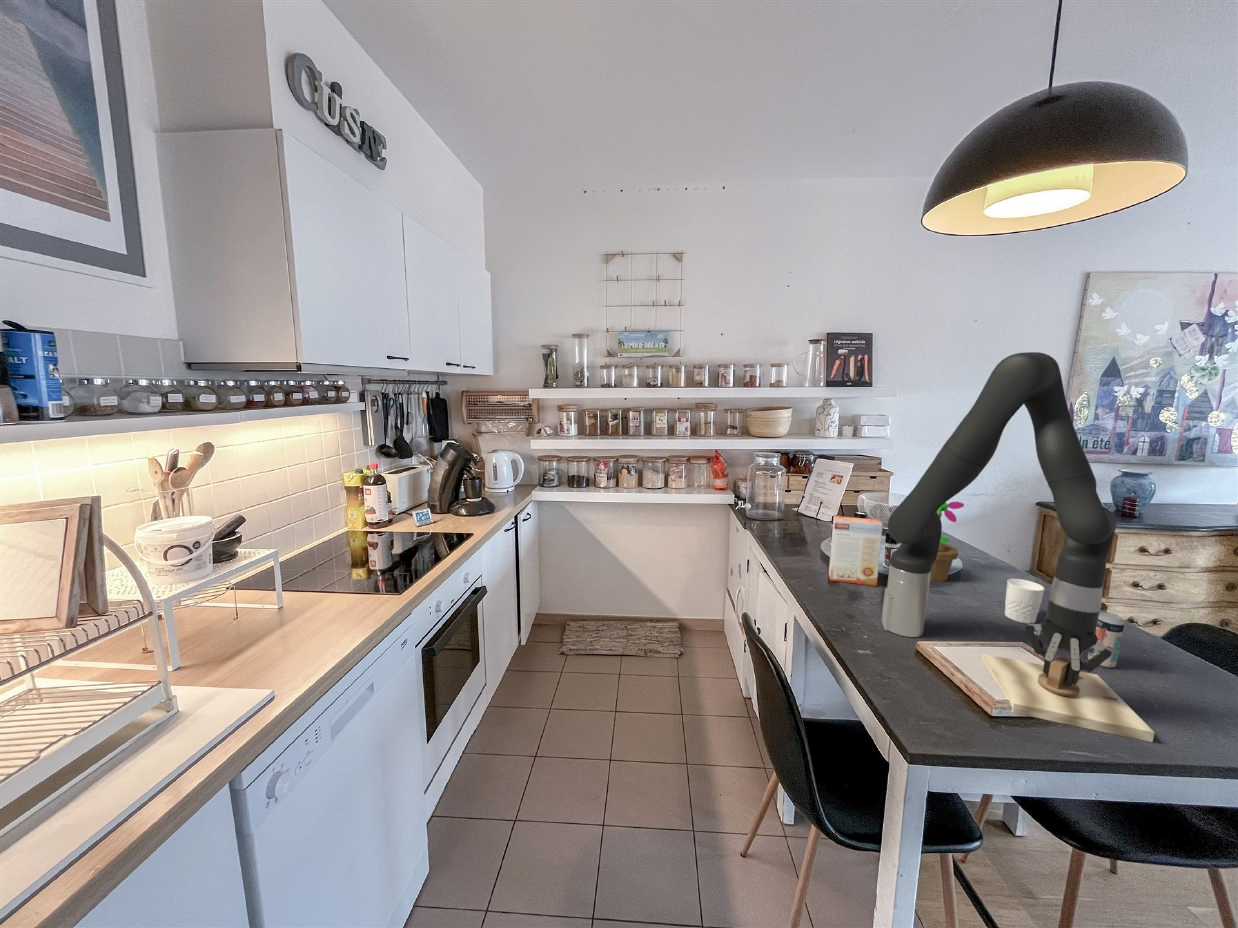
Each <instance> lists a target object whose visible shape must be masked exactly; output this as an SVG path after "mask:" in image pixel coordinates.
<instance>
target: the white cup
mask: <svg viewBox="0 0 1238 928" xmlns="http://www.w3.org/2000/svg"><path fill="white" fill-rule="evenodd" d="M1006 581H1007V582H1006V591H1005V602H1004V603H1005V606H1004V614H1005V616H1006V617H1007V618H1008V619H1011V621H1015V622H1018V623H1023V624H1028V623H1033V624H1036V622H1037V619H1038V615H1039V612H1040V607H1041V604H1042V600H1043V597H1044V593H1045V587H1044V586H1043V585H1041V584H1039V583H1036V582H1034V581H1031V580H1026V579H1022V578H1021V579H1020V578H1009V579H1007V580H1006Z"/></svg>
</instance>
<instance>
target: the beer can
mask: <svg viewBox="0 0 1238 928" xmlns="http://www.w3.org/2000/svg"><path fill="white" fill-rule="evenodd" d="M1125 625H1126V624H1125V621H1124V619H1123V617H1122V616H1120V615H1118V614H1115V613H1113V612H1107V611H1100V612H1099V617H1098V622H1097V627H1096V636H1097V638H1098V641H1099V642H1100V643H1102V644H1103V645H1105V646H1106V647H1107V646H1108V647H1111V648H1112V649H1113V652H1112V655H1111V656H1110V657H1109V658H1108V659H1106V660H1105V661H1104V662H1103V663H1101V664H1100V665H1099V666H1098V667H1103V668H1115V667H1116V666H1117V662H1118V657H1119V653H1120V652H1119V651H1120V648H1121V642H1122V638H1123V633H1124V629H1125ZM1095 649H1096V648H1095V646H1092V647H1090V648H1088V653H1087V659H1088V661H1089V660H1090V659H1091V658H1093V657H1094V656H1095V655H1096V653H1095Z"/></svg>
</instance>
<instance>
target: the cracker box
mask: <svg viewBox="0 0 1238 928" xmlns="http://www.w3.org/2000/svg"><path fill="white" fill-rule="evenodd" d="M883 526H884V524H883V523H882V521H881V520H880V519H874V518H865V517H864V518H861V517H852V516H841V515H840V516H838V515H834V516H833V520H832V531H831V532H832V533H831V543H830V544H831V545H830V553H829V555H830V557H829V567H828V577H829V580H830V581H832V582H841V583H850V584H858V585H866V586H874V587H877V586H878V585H877V584H878V577H879V567H880V559H881V558H880V557H881V556H880V555H881V547H882V537H883V528H884V527H883Z"/></svg>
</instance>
